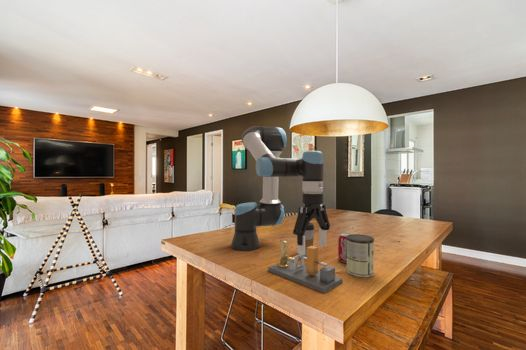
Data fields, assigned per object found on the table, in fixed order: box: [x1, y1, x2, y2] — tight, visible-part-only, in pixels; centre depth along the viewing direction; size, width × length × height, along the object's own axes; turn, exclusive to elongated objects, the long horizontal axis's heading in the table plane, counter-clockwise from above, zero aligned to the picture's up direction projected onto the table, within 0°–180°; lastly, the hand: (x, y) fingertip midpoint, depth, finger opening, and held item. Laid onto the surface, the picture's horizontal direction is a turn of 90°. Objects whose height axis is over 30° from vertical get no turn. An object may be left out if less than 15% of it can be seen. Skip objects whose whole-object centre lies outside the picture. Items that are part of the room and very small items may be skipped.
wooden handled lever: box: [293, 245, 329, 276], centre depth 93 cm, size 13×5×10 cm, turn 44°
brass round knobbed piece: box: [277, 239, 294, 268], centre depth 102 cm, size 8×5×10 cm, turn 44°
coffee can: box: [346, 233, 375, 278], centre depth 100 cm, size 10×10×14 cm
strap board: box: [267, 260, 343, 294], centre depth 96 cm, size 26×12×2 cm, turn 44°
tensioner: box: [319, 265, 336, 284], centre depth 88 cm, size 3×5×4 cm, turn 134°
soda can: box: [337, 232, 352, 264], centre depth 113 cm, size 7×7×12 cm
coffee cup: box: [303, 222, 315, 257], centre depth 122 cm, size 8×8×15 cm
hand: (312, 250), depth 93 cm, fingers open, 13 cm apart
